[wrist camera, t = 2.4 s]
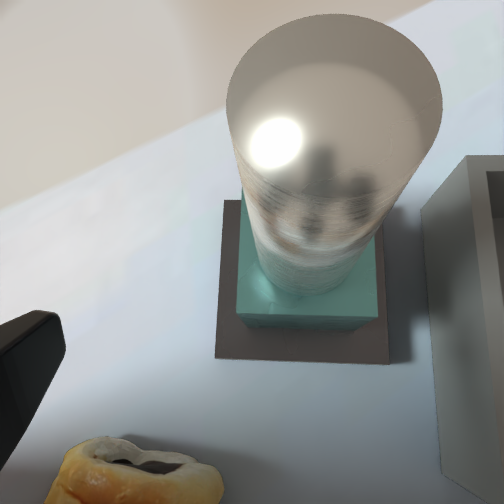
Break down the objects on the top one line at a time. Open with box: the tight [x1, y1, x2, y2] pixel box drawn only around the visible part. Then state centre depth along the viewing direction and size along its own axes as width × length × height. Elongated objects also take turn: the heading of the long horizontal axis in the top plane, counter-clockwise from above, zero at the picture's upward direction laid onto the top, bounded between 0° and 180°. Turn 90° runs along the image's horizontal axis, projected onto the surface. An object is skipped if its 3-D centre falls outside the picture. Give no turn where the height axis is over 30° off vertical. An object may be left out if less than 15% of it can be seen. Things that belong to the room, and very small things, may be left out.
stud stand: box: [215, 200, 390, 365], centre depth 17 cm, size 7×7×4 cm
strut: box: [226, 14, 443, 330], centre depth 12 cm, size 4×4×12 cm
